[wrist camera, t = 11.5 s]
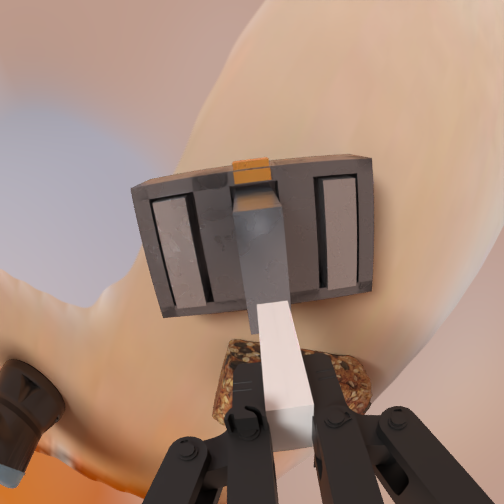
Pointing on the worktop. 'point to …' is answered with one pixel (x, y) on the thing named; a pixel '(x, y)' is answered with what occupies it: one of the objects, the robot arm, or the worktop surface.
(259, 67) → the worktop surface
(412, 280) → the worktop surface
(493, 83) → the worktop surface
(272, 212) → the block
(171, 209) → the rack
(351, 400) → the bread
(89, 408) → the worktop surface
